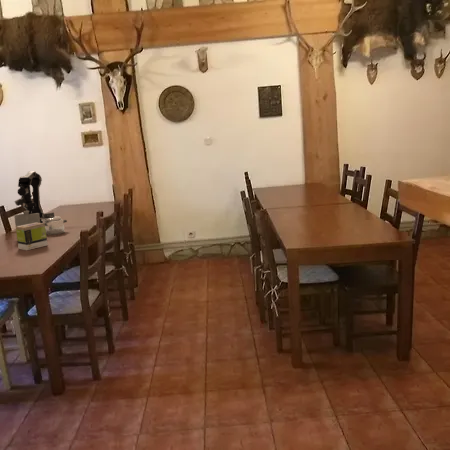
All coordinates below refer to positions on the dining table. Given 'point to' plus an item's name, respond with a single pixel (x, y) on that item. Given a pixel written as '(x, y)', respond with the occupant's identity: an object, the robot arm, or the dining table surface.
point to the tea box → (31, 236)
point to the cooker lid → (50, 217)
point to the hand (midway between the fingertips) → (29, 215)
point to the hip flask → (26, 218)
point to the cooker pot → (54, 227)
